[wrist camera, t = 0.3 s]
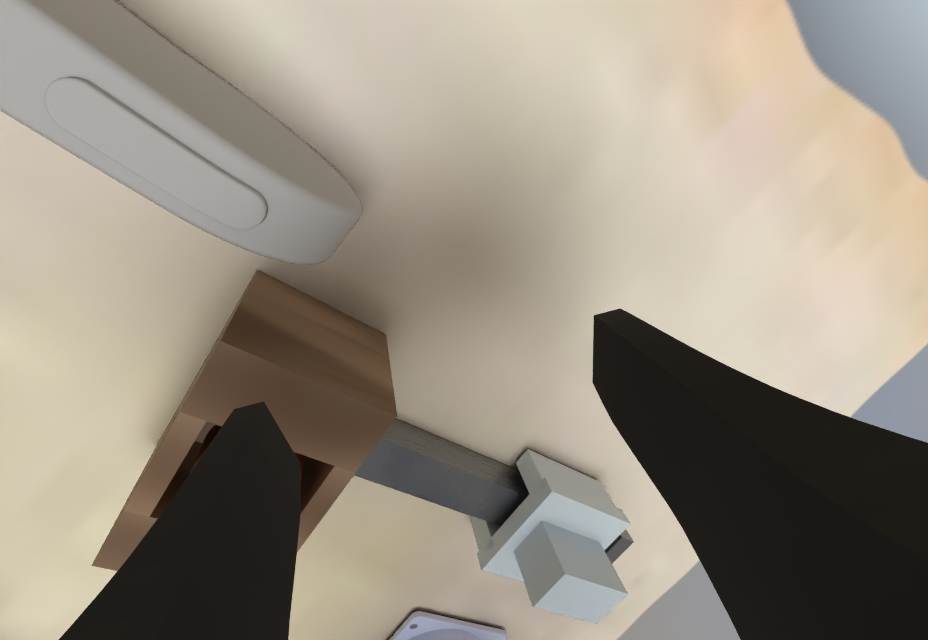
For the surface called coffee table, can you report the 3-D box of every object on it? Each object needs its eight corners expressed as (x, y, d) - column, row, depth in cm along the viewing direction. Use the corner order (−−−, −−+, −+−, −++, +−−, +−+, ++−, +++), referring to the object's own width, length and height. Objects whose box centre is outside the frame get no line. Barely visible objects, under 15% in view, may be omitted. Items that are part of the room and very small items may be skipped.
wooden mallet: (281, 486, 24) (261, 600, 18) (155, 447, 21) (91, 565, 16) (385, 334, 21) (397, 416, 16) (257, 269, 19) (220, 340, 13)
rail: (564, 536, 30) (588, 587, 27) (314, 446, 23) (308, 501, 20) (604, 494, 29) (633, 541, 26) (355, 385, 22) (356, 433, 19)
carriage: (541, 544, 30) (584, 648, 24) (467, 519, 27) (497, 628, 22) (602, 479, 28) (662, 574, 23) (529, 446, 26) (578, 543, 20)
